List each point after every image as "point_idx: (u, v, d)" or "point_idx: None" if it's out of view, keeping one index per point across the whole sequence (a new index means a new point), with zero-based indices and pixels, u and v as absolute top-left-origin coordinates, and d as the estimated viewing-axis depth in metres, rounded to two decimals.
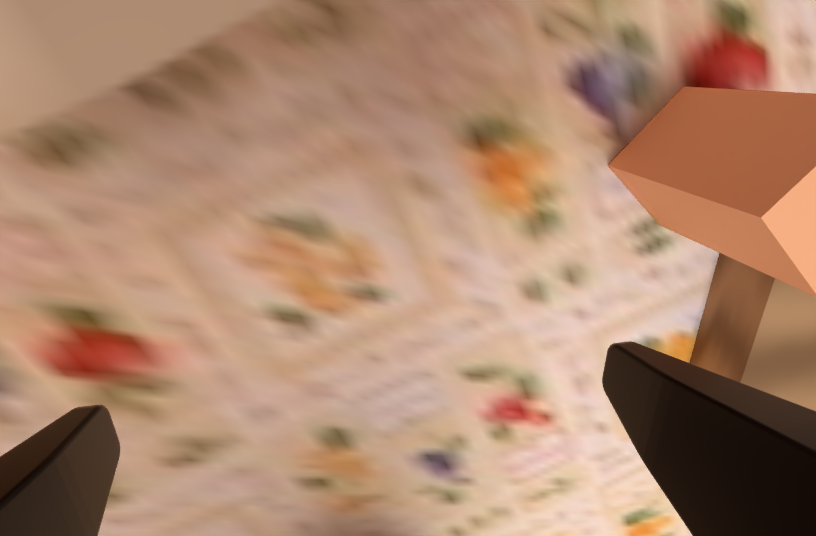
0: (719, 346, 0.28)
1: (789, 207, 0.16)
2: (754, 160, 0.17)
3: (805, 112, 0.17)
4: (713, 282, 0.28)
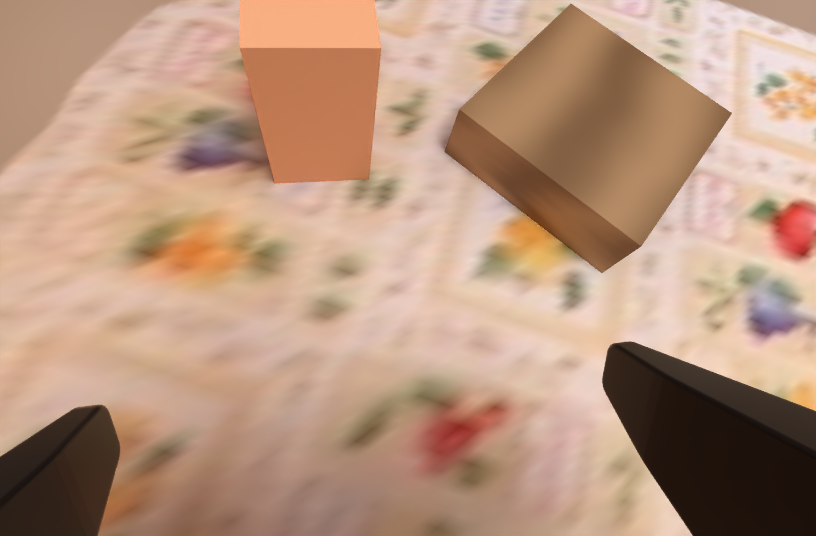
0: (530, 194, 0.24)
1: (256, 28, 0.17)
2: None
3: None
4: (471, 170, 0.26)
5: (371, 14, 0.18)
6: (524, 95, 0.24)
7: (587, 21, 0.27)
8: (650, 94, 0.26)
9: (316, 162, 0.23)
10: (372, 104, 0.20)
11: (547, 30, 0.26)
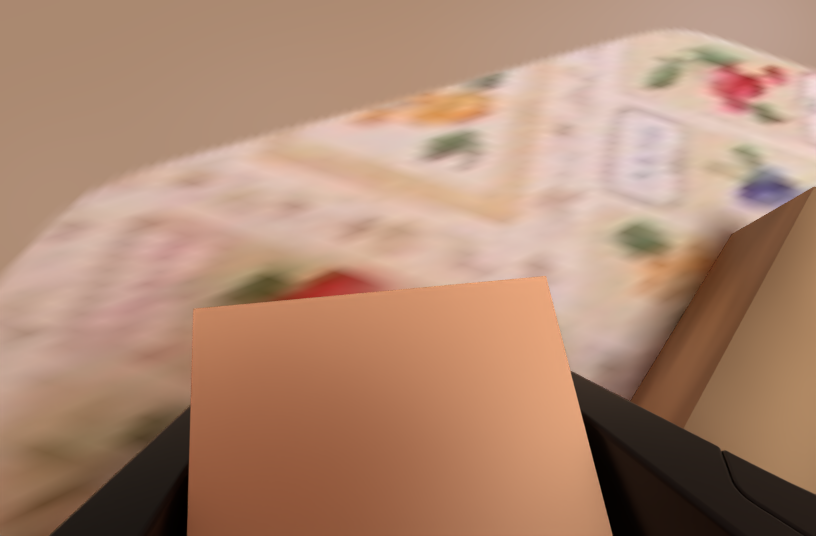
0: None
1: None
2: None
3: None
4: None
5: (595, 526, 0.06)
6: (781, 410, 0.12)
7: None
8: None
9: None
10: None
11: (789, 247, 0.14)
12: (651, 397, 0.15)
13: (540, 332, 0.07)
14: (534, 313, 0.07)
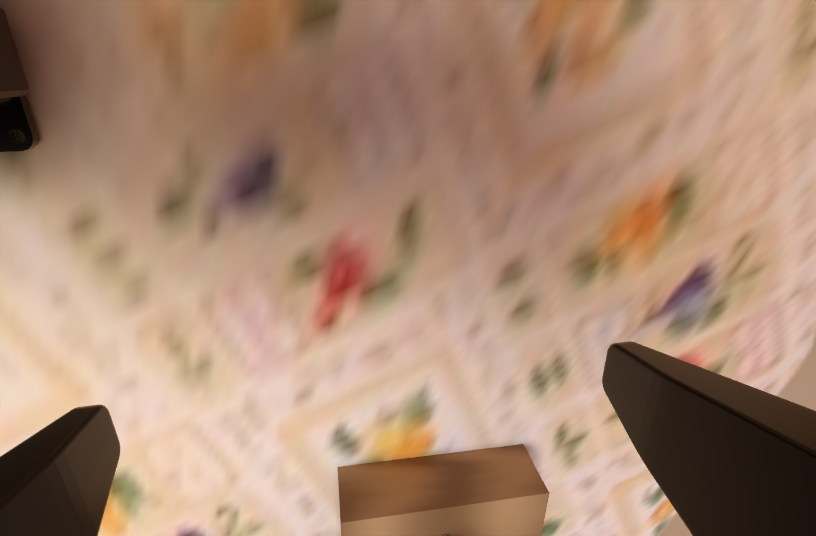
0: (442, 477, 0.26)
1: None
2: None
3: None
4: (492, 448, 0.28)
5: None
6: None
7: None
8: None
9: None
10: None
11: None
12: None
13: None
14: None
